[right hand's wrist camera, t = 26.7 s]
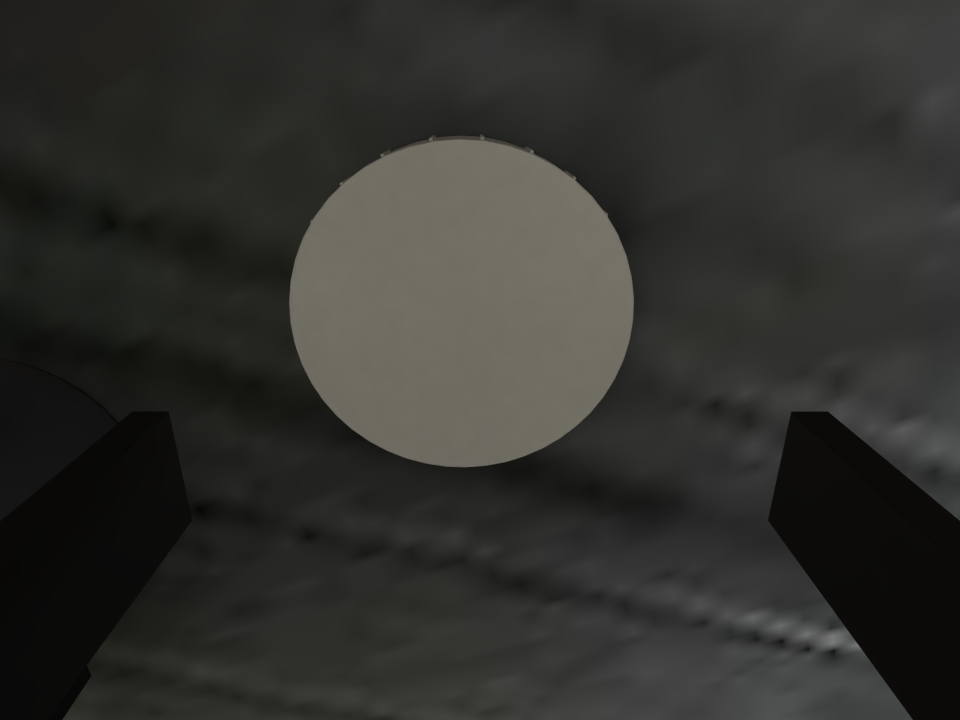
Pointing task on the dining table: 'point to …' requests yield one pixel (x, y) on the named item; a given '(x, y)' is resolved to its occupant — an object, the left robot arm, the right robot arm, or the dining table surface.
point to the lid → (461, 302)
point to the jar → (41, 430)
